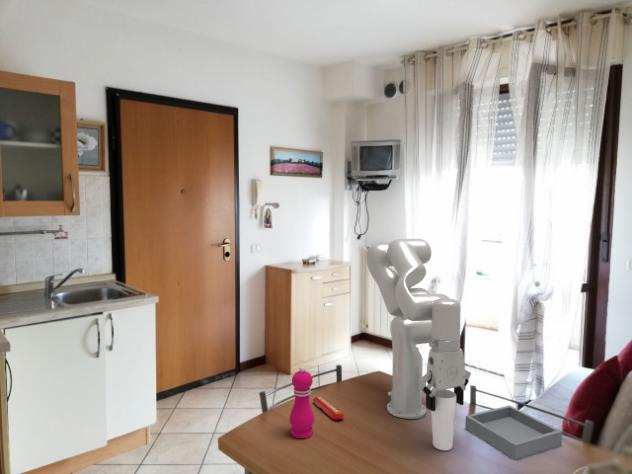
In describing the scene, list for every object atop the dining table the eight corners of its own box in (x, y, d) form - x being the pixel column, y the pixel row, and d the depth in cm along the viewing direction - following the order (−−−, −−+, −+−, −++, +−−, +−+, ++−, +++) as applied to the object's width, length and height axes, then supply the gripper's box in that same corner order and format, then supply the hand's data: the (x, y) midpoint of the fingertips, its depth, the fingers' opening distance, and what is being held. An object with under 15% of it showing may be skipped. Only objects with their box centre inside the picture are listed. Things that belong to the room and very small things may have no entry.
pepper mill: (284, 433, 128) (284, 366, 127) (301, 425, 133) (302, 360, 132) (301, 442, 123) (302, 372, 122) (319, 433, 129) (320, 366, 127)
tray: (465, 428, 132) (465, 415, 132) (509, 417, 140) (509, 405, 139) (515, 460, 116) (515, 445, 116) (561, 445, 123) (562, 431, 123)
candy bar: (345, 421, 137) (345, 412, 137) (335, 424, 135) (335, 414, 135) (321, 401, 151) (321, 392, 151) (311, 403, 149) (311, 394, 149)
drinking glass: (456, 454, 118) (458, 399, 117) (430, 451, 120) (431, 397, 119) (453, 441, 125) (455, 389, 124) (429, 438, 126) (430, 387, 125)
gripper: (429, 351, 113) (428, 417, 114) (479, 344, 120) (479, 406, 121) (411, 344, 120) (410, 406, 121) (460, 337, 127) (459, 396, 128)
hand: (444, 406), depth 121 cm, fingers open, 9 cm apart
